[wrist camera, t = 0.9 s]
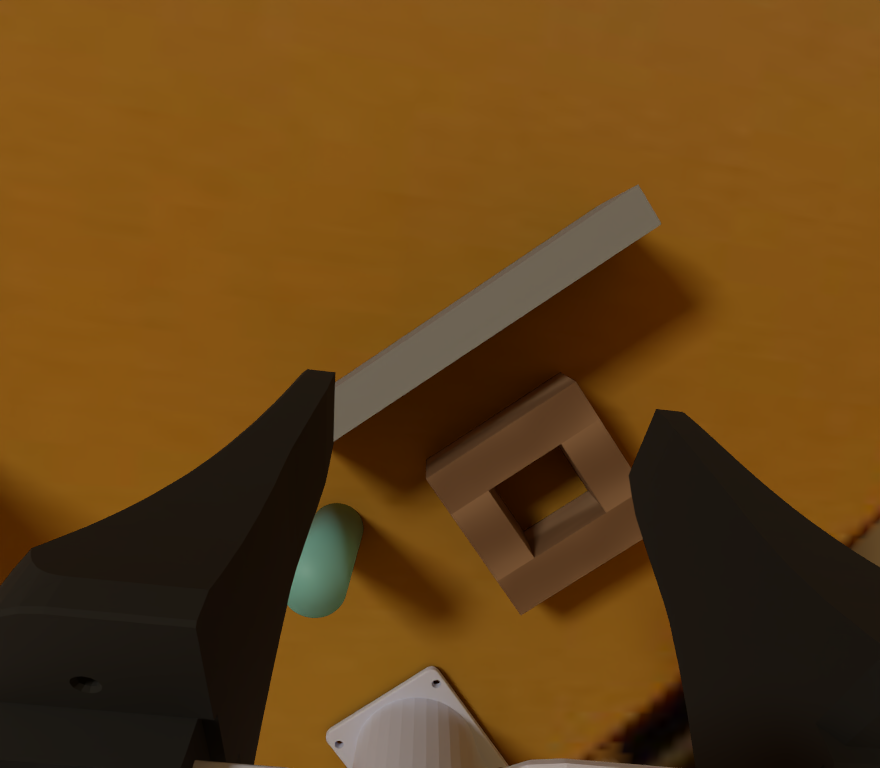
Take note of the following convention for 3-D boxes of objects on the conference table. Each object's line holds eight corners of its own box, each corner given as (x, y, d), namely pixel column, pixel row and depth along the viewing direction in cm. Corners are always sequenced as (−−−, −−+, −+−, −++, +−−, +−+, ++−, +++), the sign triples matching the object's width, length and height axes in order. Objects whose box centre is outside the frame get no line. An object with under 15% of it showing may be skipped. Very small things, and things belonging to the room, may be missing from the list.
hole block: (642, 501, 34) (666, 524, 31) (511, 583, 35) (520, 615, 31) (560, 372, 33) (575, 381, 30) (426, 460, 34) (426, 478, 30)
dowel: (373, 534, 34) (359, 595, 27) (331, 562, 35) (306, 629, 28) (343, 493, 34) (321, 544, 27) (300, 521, 34) (268, 579, 27)
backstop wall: (618, 237, 32) (661, 224, 26) (315, 439, 33) (290, 470, 27) (599, 205, 32) (638, 184, 26) (294, 410, 33) (264, 435, 27)
